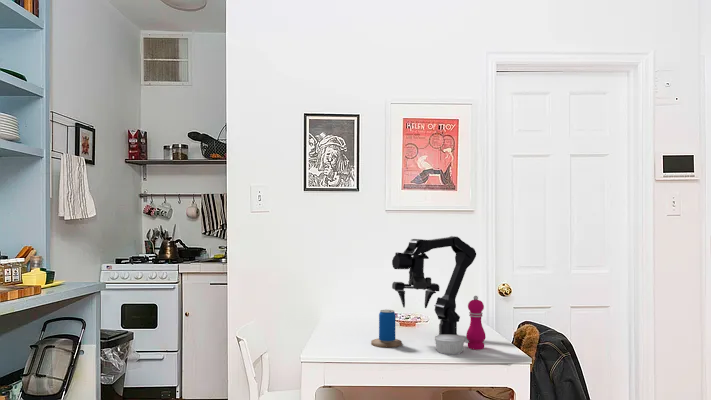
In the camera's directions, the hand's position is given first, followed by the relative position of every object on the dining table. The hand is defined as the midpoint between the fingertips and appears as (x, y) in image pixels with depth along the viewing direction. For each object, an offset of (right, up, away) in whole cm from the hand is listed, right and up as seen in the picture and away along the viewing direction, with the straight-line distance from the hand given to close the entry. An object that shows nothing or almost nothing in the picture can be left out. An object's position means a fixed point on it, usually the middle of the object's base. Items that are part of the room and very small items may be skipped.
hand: (414, 307), depth 231 cm
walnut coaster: (-12, -13, -9) cm, 20 cm away
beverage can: (-12, -12, -9) cm, 19 cm away
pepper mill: (+22, -13, -15) cm, 29 cm away
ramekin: (+11, -13, -20) cm, 26 cm away
